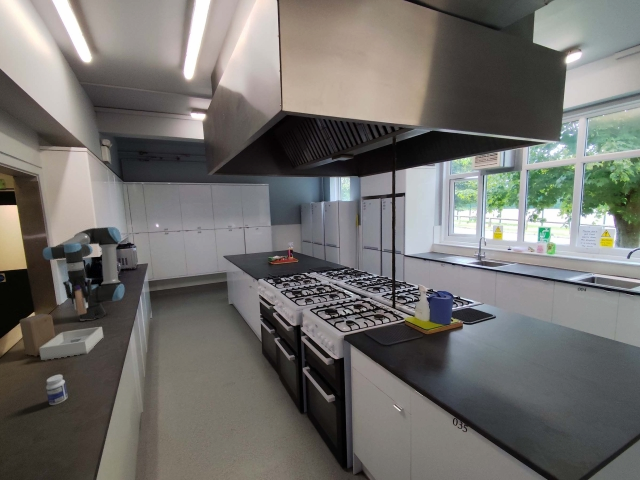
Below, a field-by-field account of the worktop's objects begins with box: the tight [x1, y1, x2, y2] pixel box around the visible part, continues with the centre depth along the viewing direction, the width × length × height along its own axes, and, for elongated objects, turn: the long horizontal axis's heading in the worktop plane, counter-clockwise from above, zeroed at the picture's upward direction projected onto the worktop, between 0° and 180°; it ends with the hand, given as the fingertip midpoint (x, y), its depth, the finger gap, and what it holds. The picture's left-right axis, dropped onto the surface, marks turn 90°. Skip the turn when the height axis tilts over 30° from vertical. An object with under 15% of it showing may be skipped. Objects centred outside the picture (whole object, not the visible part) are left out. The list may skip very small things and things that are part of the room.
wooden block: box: [19, 313, 56, 357], centre depth 158 cm, size 10×10×20 cm
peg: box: [75, 289, 87, 316], centre depth 169 cm, size 4×4×14 cm
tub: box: [39, 326, 104, 361], centre depth 161 cm, size 20×20×7 cm
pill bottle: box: [45, 374, 68, 406], centre depth 116 cm, size 6×6×10 cm
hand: (81, 308), depth 170 cm, fingers closed on peg, 4 cm apart
